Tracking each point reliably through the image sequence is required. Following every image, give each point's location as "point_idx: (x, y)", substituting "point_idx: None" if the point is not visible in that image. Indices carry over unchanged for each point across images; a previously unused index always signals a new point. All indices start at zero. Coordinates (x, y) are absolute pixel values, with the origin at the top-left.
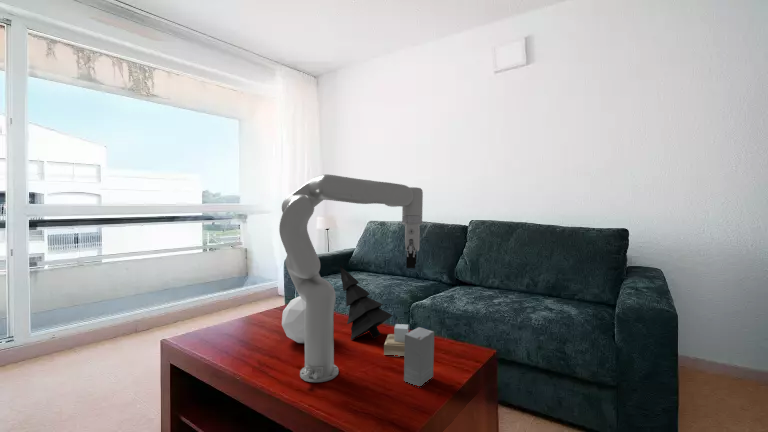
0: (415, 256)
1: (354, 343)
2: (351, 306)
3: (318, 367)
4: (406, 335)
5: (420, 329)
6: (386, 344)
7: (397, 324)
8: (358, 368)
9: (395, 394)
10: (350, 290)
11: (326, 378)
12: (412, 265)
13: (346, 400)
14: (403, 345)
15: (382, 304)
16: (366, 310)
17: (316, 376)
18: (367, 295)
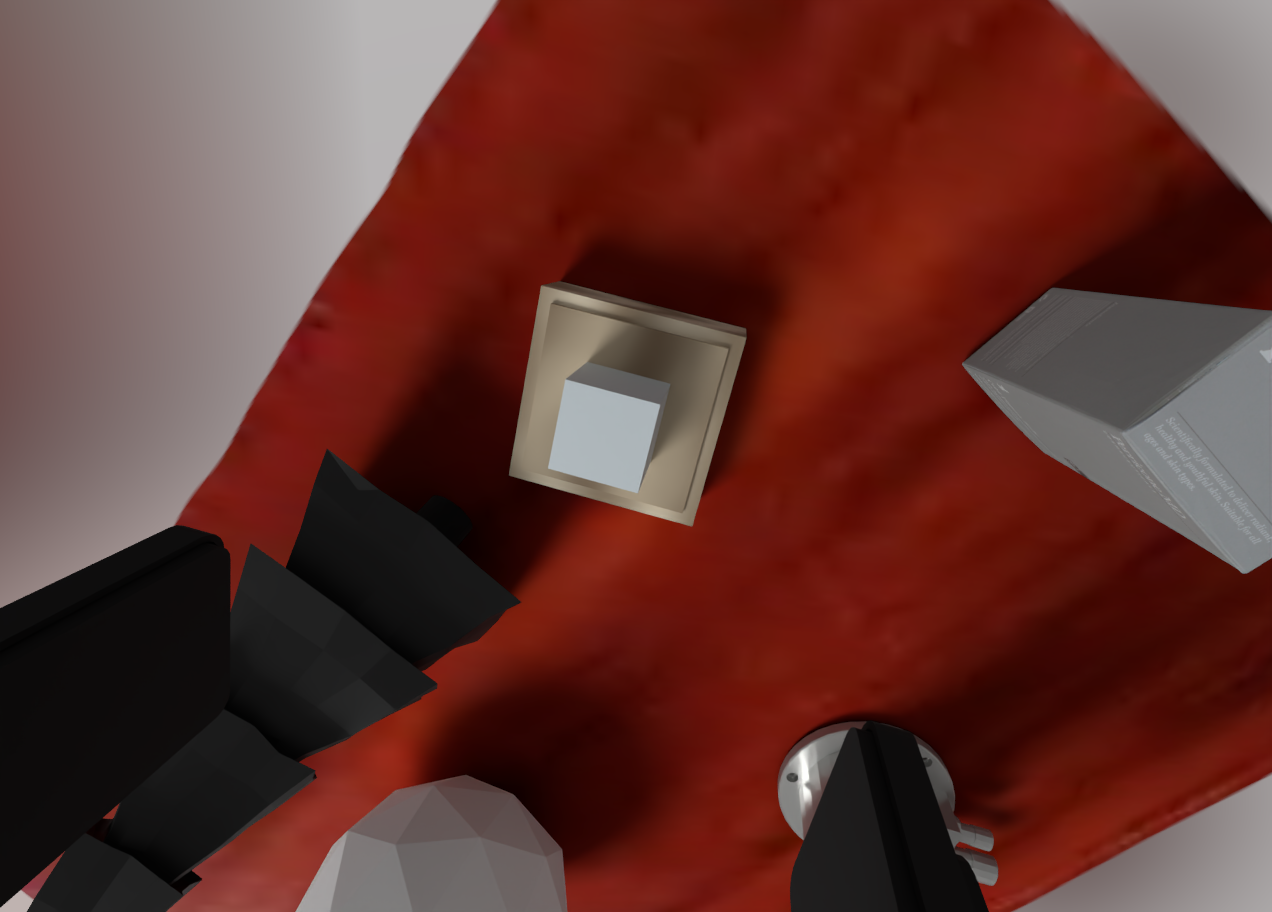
0: (5, 682)
1: (518, 624)
2: (319, 751)
3: (953, 846)
4: (1263, 561)
5: (1196, 431)
6: (685, 511)
7: (558, 458)
8: (834, 636)
9: None
10: (215, 851)
11: (949, 778)
12: (960, 859)
13: (1142, 709)
14: (716, 415)
15: (256, 550)
16: (424, 680)
17: (992, 837)
18: None
